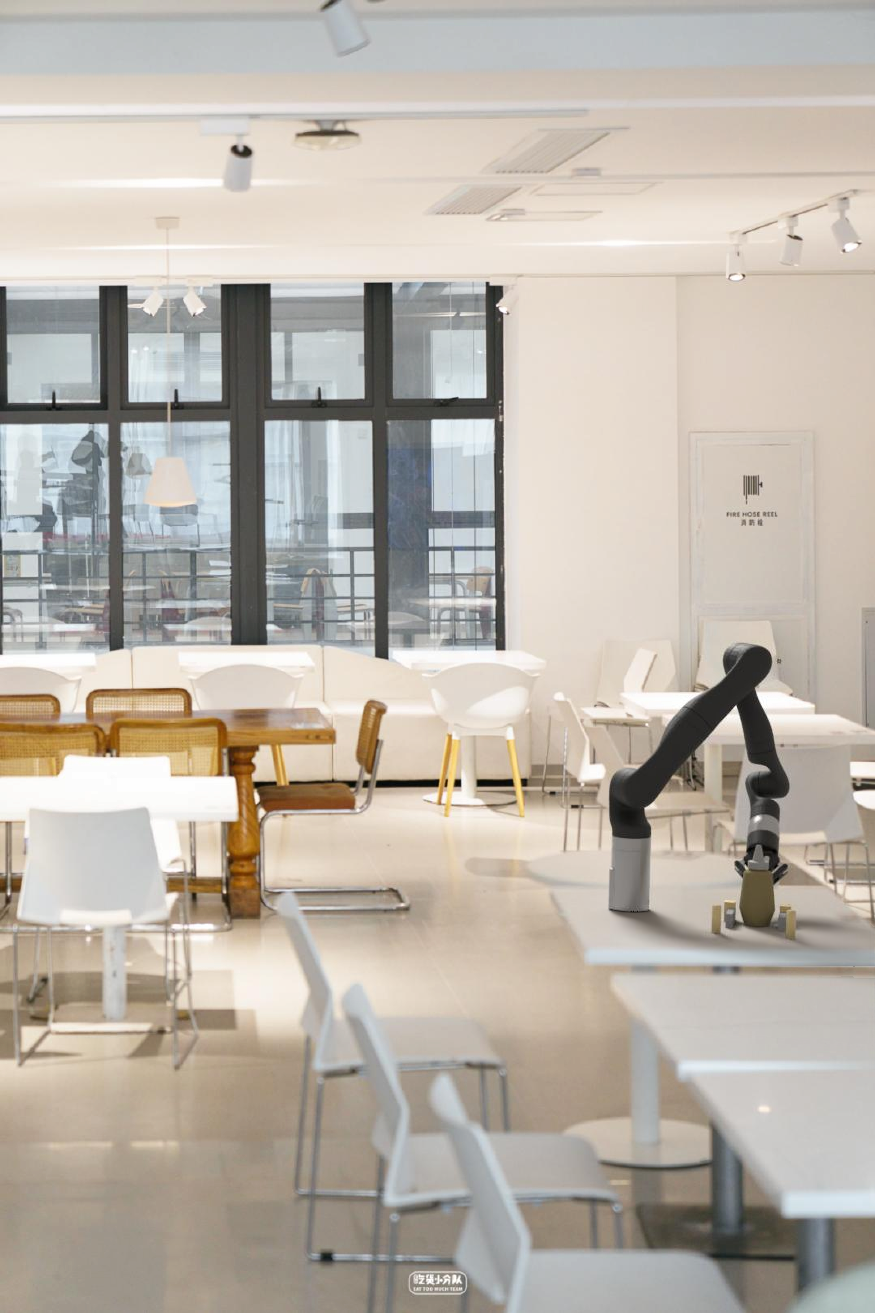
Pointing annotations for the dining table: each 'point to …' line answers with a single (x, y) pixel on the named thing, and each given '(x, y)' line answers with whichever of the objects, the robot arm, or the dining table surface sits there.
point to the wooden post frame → (784, 920)
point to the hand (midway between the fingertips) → (758, 897)
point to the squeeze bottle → (757, 892)
